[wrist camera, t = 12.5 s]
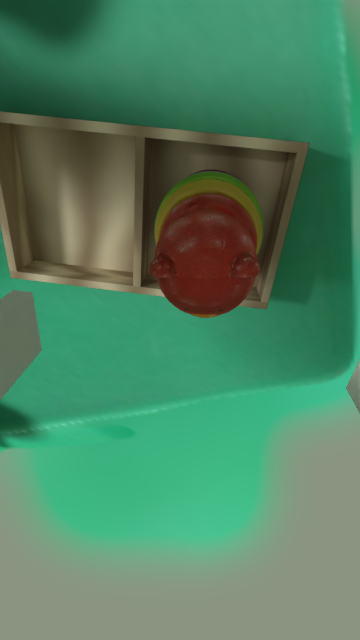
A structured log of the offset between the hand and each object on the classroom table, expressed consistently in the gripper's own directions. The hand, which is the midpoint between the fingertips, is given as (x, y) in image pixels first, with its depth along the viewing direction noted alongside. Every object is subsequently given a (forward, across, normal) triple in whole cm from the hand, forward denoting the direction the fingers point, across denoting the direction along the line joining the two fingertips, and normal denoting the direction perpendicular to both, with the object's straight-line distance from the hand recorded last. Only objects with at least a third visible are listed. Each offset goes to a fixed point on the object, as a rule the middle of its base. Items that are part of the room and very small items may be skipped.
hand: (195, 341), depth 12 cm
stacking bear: (+24, 0, 0) cm, 24 cm away
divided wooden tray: (+25, -6, 0) cm, 25 cm away
